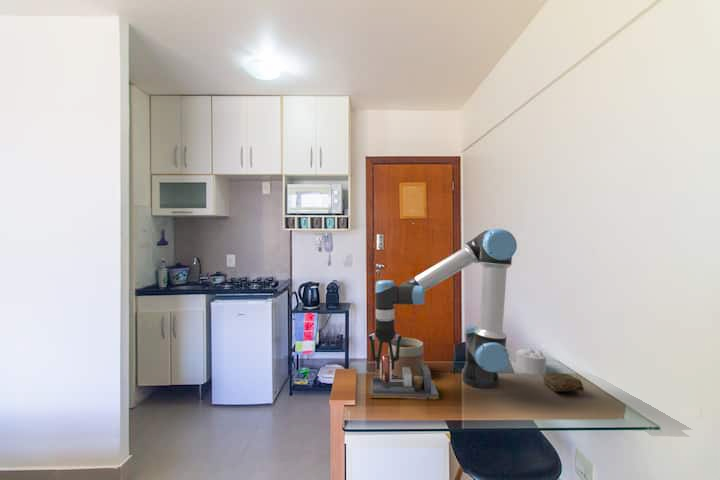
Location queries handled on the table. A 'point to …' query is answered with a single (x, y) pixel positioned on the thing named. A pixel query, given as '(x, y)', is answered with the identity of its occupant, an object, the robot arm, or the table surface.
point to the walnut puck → (417, 382)
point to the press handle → (389, 382)
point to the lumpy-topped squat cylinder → (531, 361)
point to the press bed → (424, 392)
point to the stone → (562, 382)
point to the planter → (408, 356)
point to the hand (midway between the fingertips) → (385, 377)
